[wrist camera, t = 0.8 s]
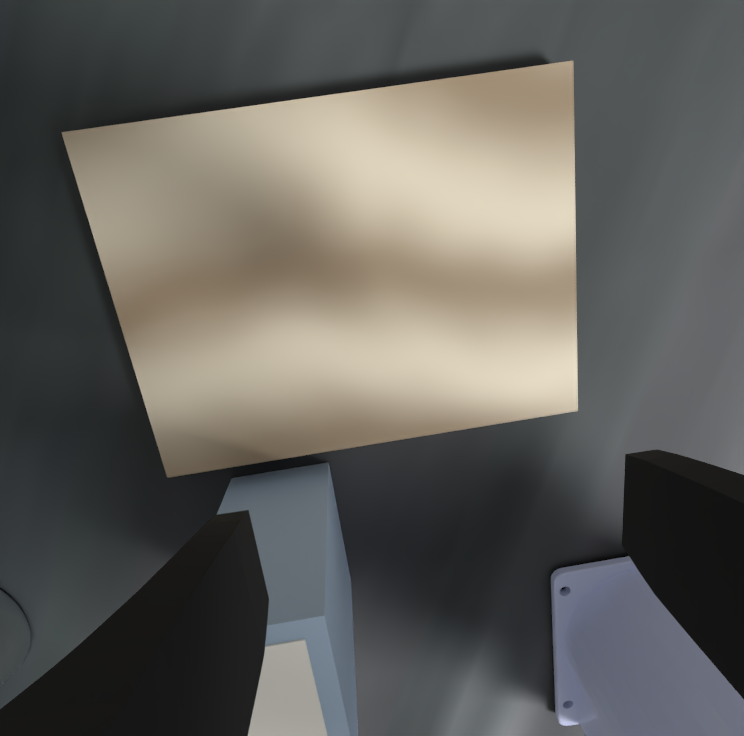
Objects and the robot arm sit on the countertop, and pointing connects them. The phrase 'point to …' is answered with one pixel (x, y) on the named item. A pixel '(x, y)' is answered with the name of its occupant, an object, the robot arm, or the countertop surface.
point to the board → (342, 264)
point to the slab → (301, 603)
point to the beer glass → (12, 637)
